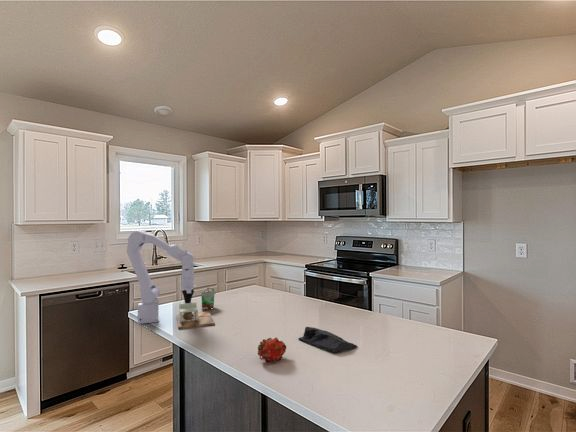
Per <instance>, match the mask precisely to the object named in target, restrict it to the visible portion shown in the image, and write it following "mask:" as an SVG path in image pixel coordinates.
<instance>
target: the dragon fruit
mask: <svg viewBox="0 0 576 432" xmlns="http://www.w3.org/2000/svg"><path fill="white" fill-rule="evenodd" d="M286 351H287V345H286V344H285V342H284V341H282V340H279V338H278V337H274V338H273V339H272V337H269V338H267V339H266V338H265V339H264V338H263V339H262V341H260V343H259V344H258V346H257V355H258V356H259V360H262V361H263V360H264V361H265V362H266V363H268V362H272V363H274V364H275V363H276V361H280V360H282V359H283V355H284V354H285V353H286Z"/></svg>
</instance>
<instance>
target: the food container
mask: <svg viewBox="0 0 576 432" xmlns="http://www.w3.org/2000/svg"><path fill="white" fill-rule="evenodd" d="M215 289H216V288H211V287H207V288H206V290H204V291H202V292H200V293H201V294H200V295H201V311H202V310H205V311H208V310H207V309H211V308H213V307H214V305H215V295H216V293H217V292H216V290H215ZM213 309H214V308H213ZM211 310H212V309H211Z"/></svg>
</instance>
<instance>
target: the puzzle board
mask: <svg viewBox="0 0 576 432" xmlns="http://www.w3.org/2000/svg"><path fill="white" fill-rule="evenodd" d="M176 321H177V329H178V330H185V329H192V328H193V329H194V328H200V327H201V328H202V327H208V326H209V327H210V326H215V325H216V322H215V321H214V319H213V317H212V315H211V313H210V312H209V311H200V312H199V311H198V320H195V317H194V312H192V318H185V319H183V313H182V322H180V319H179V314H176Z"/></svg>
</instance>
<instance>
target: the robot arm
mask: <svg viewBox="0 0 576 432" xmlns="http://www.w3.org/2000/svg"><path fill="white" fill-rule="evenodd" d="M145 244H151V245H152V244H153V245H155V246H156V247H159V248H160V249H162V250H164V251H166V253H167V255H168V256H170V257H171V258H173V259H175V260H177V261H178V262H180V263H181V287H180V289H181V293H182V296H183V298H184V299H183V300H184V303H192V298H193V295H194V293H195V290H194V289H195V288H197V285H195V268H194V265H195V264H194V262H195V255H194V254H193V253H192V252H191V251H188V250H186V249H183V248H181V247H180V245H178V244H169V243H167V242H166V241H164V240H162V239H161V238H159V237H158V236H156V235H155V234H152V233H151V232H147V231H146V230H145V229H143V230H135V231H132V232H131V233H130V235H129V236H128V238H127V246H126V253H127V255H128V259H129V261H130V263H131V266H132V269H133V271H134V273H135V276H136V277H137V280H138V284H139V285H140V286H139V287H140V288H139V289H140V290H139V291H140V298H141V301H142V302H140V303H137V317H136V318H137V319H136V320H137V325H141V324H150V323H160V316H159V305H160V304H159V303H160V302H159V296H160V290H159V289H160V288H158V287H157V286H156V285H155V283H154V281H152V279H151V277H150V275H149V272H148V269H147V266H146V263H145V262H144V259H143V257H142V254H141V252H140V251H141V249H142V247H143V246H144V245H145Z"/></svg>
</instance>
